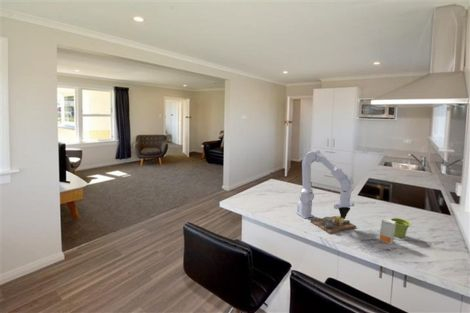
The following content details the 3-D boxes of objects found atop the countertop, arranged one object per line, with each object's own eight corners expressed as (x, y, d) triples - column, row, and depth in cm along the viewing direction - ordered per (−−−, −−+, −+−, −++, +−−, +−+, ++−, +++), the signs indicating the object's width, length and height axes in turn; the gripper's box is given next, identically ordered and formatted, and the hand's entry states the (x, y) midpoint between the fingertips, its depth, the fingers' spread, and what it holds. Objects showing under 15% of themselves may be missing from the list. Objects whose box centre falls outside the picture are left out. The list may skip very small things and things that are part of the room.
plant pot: (407, 234, 149) (409, 220, 148) (408, 241, 141) (410, 226, 140) (388, 230, 154) (390, 216, 152) (388, 236, 146) (390, 222, 144)
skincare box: (378, 240, 141) (381, 220, 139) (381, 238, 144) (383, 217, 142) (391, 244, 137) (394, 223, 135) (393, 242, 140) (396, 221, 138)
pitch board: (310, 222, 162) (311, 212, 161) (336, 217, 170) (337, 207, 169) (329, 233, 148) (330, 222, 146) (356, 227, 156) (357, 217, 155)
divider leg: (332, 222, 159) (333, 215, 158) (336, 221, 160) (337, 214, 159) (338, 226, 154) (339, 218, 154) (342, 225, 156) (343, 218, 155)
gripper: (341, 200, 148) (338, 222, 151) (359, 197, 154) (357, 219, 156) (332, 196, 154) (329, 218, 157) (350, 194, 160) (347, 214, 163)
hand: (342, 218), depth 157 cm, fingers closed
